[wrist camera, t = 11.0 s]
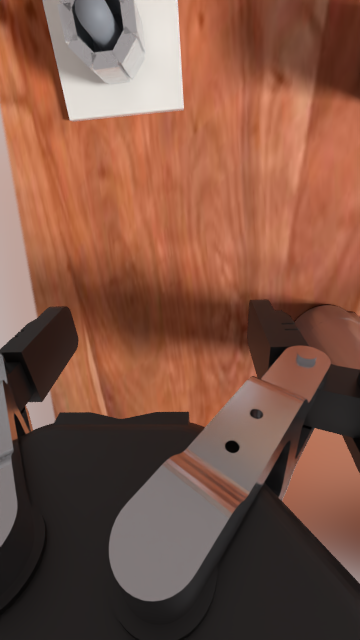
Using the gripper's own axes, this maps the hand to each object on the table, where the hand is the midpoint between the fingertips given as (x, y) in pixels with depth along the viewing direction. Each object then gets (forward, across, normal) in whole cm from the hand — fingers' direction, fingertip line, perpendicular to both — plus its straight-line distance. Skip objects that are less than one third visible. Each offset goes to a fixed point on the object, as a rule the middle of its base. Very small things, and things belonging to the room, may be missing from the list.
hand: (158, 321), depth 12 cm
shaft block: (+25, +5, -16) cm, 31 cm away
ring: (+23, +5, -16) cm, 28 cm away
